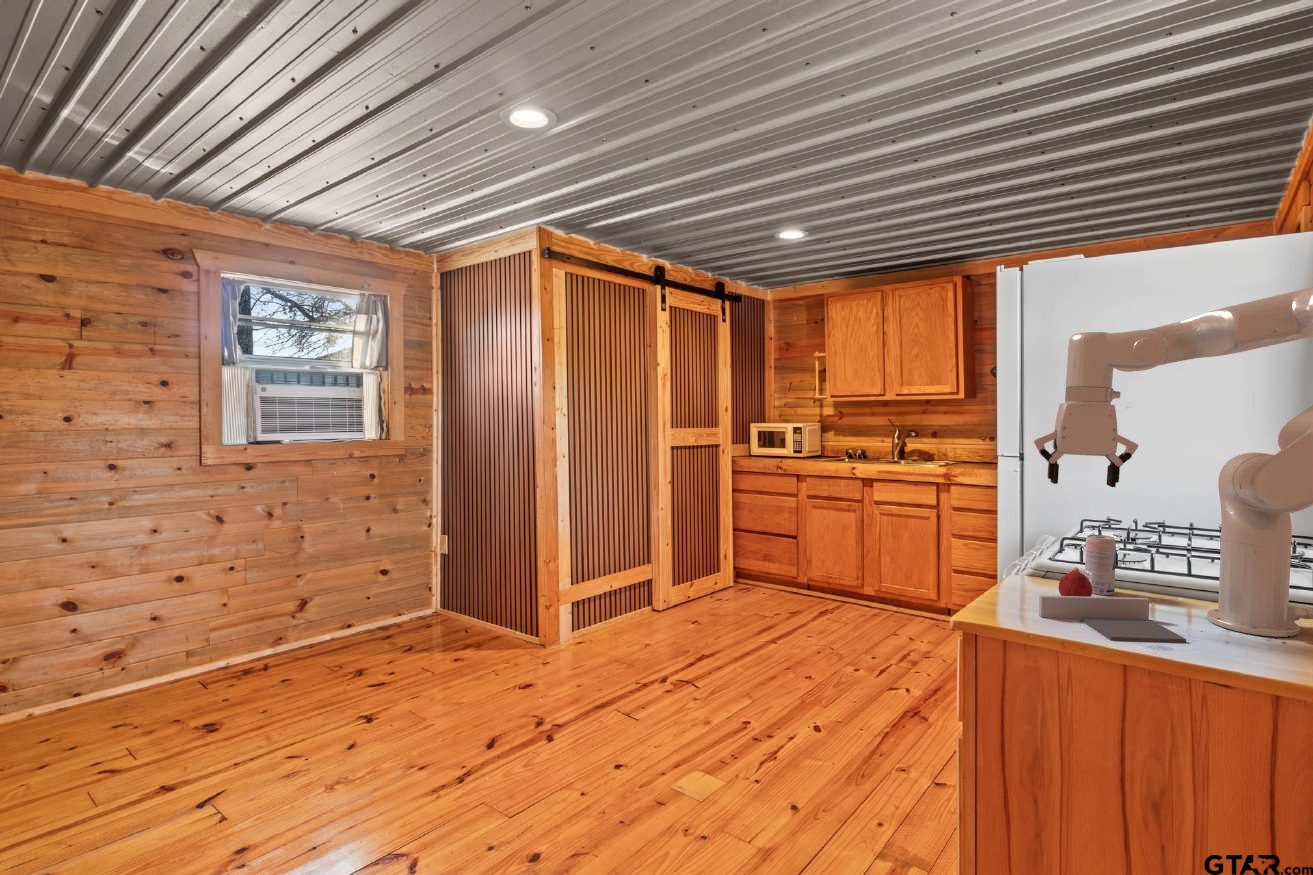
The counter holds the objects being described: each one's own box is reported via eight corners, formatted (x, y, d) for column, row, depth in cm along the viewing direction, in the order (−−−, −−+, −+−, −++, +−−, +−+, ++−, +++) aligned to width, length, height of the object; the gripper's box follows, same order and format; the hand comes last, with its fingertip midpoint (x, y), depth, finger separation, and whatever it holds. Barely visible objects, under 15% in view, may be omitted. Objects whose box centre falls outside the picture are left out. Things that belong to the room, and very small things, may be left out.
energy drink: (1113, 590, 145) (1115, 536, 144) (1115, 597, 140) (1116, 540, 140) (1084, 587, 148) (1085, 533, 147) (1084, 593, 143) (1086, 538, 142)
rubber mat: (1150, 622, 124) (1150, 619, 124) (1186, 642, 114) (1186, 639, 114) (1081, 621, 126) (1081, 617, 126) (1110, 640, 116) (1110, 636, 116)
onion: (1097, 612, 131) (1098, 571, 130) (1064, 610, 132) (1065, 570, 132) (1084, 603, 137) (1085, 564, 136) (1053, 601, 138) (1054, 563, 137)
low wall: (1145, 618, 127) (1146, 597, 126) (1148, 620, 126) (1149, 599, 125) (1038, 615, 129) (1039, 595, 129) (1041, 617, 128) (1041, 596, 128)
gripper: (1134, 397, 130) (1127, 485, 131) (1033, 395, 136) (1028, 479, 137) (1147, 398, 123) (1141, 490, 124) (1041, 396, 129) (1035, 484, 130)
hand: (1082, 484), depth 131 cm, fingers open, 9 cm apart
